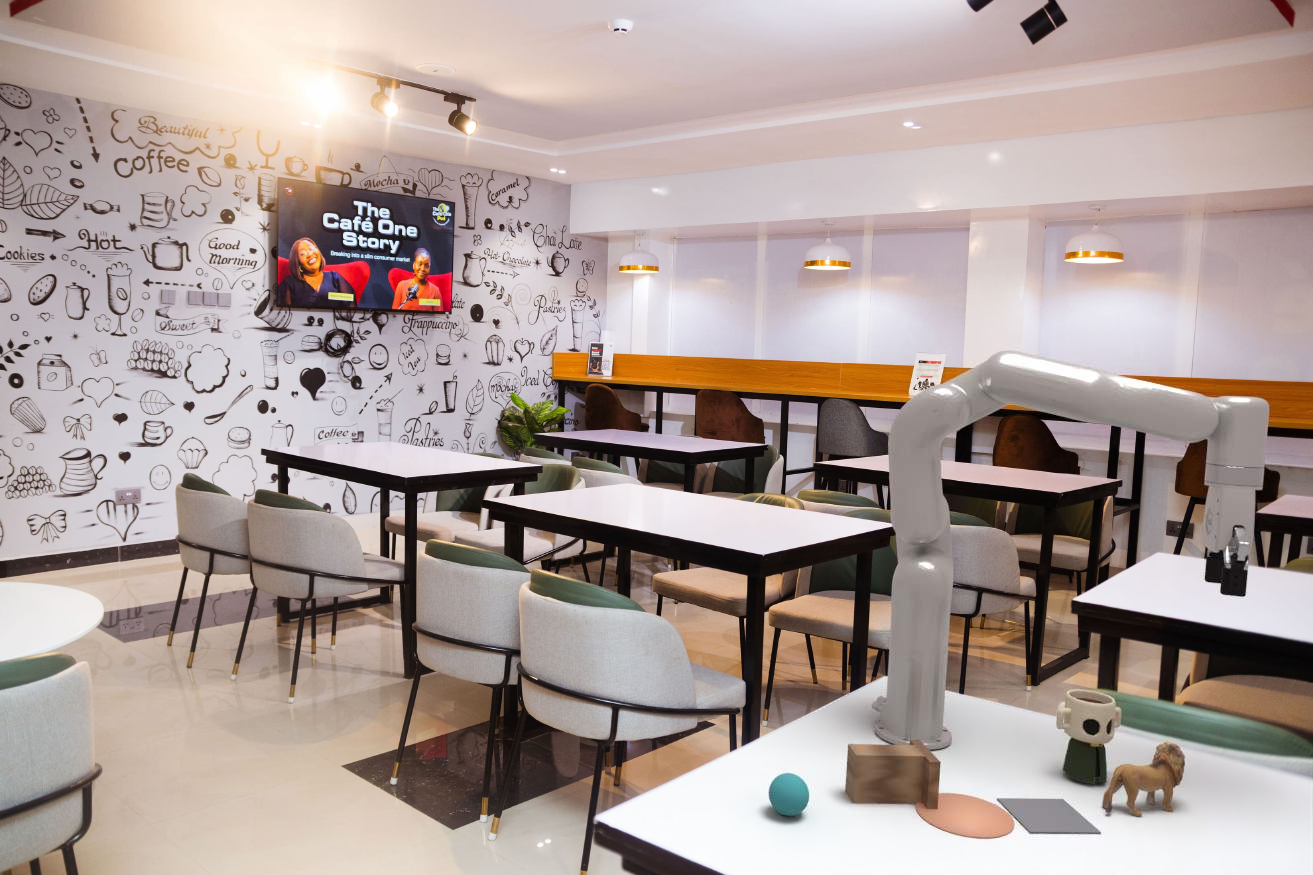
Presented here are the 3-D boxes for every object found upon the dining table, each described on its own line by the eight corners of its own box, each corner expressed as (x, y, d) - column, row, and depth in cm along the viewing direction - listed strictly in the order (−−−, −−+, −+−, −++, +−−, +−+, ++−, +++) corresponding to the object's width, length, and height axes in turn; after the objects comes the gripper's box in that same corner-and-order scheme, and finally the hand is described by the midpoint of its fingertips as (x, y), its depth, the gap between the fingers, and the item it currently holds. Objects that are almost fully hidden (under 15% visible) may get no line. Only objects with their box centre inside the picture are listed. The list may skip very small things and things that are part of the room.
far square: (1030, 833, 124) (1030, 831, 124) (996, 799, 134) (996, 798, 134) (1101, 833, 125) (1101, 832, 125) (1062, 800, 135) (1062, 798, 135)
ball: (759, 809, 127) (761, 770, 127) (790, 801, 130) (792, 763, 130) (784, 826, 123) (787, 786, 122) (816, 818, 125) (818, 778, 125)
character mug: (1066, 789, 138) (1073, 705, 138) (1039, 769, 145) (1045, 689, 145) (1131, 787, 140) (1138, 703, 140) (1100, 767, 147) (1106, 688, 147)
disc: (896, 804, 131) (896, 803, 131) (959, 787, 137) (959, 786, 137) (970, 846, 120) (970, 845, 120) (1034, 825, 126) (1034, 824, 126)
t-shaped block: (857, 809, 129) (860, 760, 128) (841, 784, 137) (844, 738, 136) (937, 810, 130) (940, 761, 129) (916, 785, 138) (919, 739, 137)
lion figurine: (1157, 792, 139) (1162, 734, 138) (1191, 808, 134) (1196, 747, 134) (1090, 808, 132) (1095, 747, 132) (1124, 825, 128) (1129, 762, 127)
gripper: (1192, 471, 149) (1184, 575, 150) (1219, 480, 133) (1209, 597, 134) (1246, 475, 147) (1237, 581, 148) (1280, 484, 131) (1269, 603, 132)
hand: (1224, 588), depth 141 cm, fingers open, 9 cm apart
